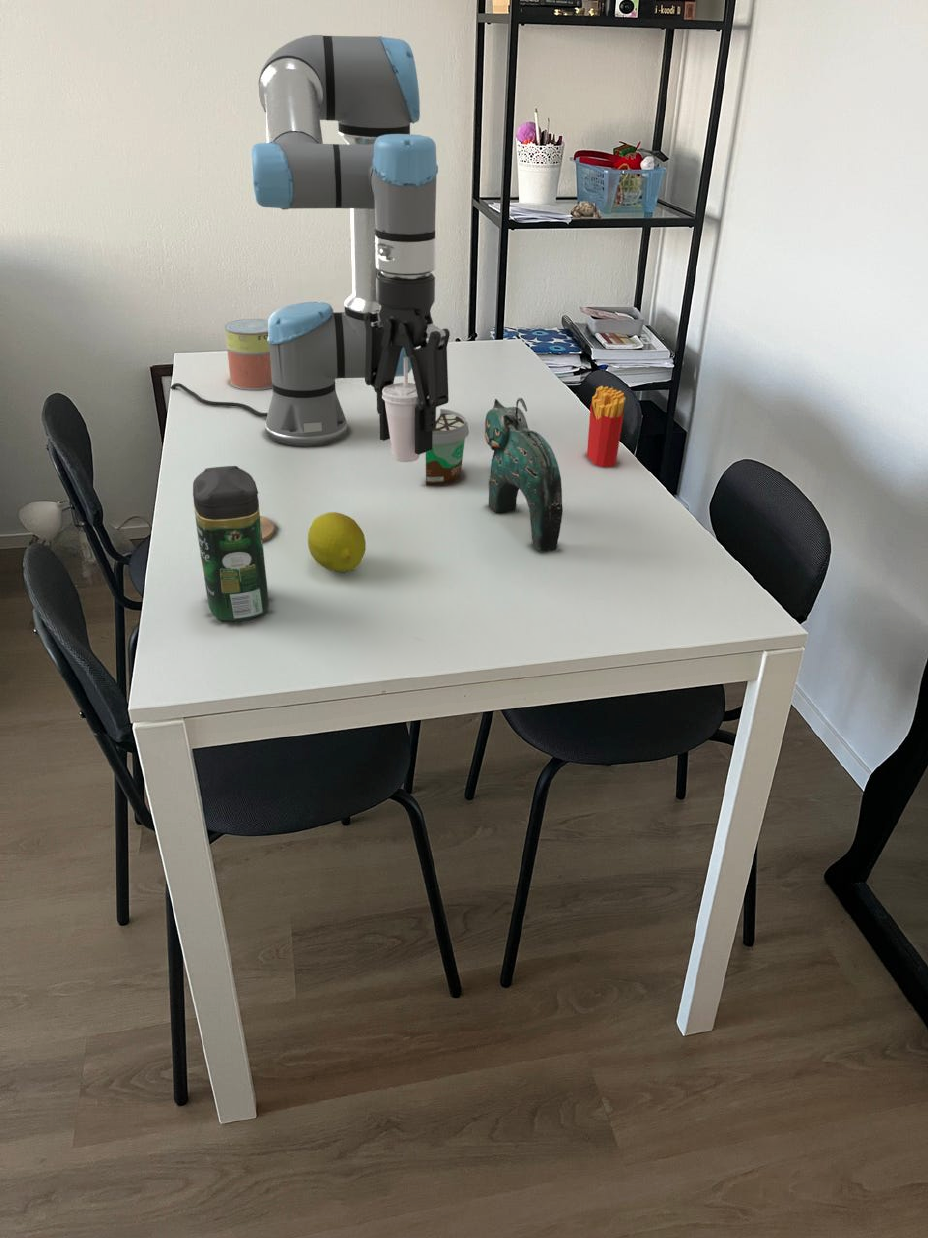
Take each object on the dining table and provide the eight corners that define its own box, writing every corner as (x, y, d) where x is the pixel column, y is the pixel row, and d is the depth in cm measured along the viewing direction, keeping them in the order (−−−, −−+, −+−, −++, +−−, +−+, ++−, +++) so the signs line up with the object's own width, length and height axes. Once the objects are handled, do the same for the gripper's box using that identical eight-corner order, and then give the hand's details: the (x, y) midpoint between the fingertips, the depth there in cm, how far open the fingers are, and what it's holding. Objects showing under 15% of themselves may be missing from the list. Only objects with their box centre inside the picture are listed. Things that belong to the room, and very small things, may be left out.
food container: (459, 492, 158) (461, 435, 153) (424, 488, 159) (424, 432, 154) (473, 465, 169) (475, 411, 163) (440, 461, 170) (441, 407, 164)
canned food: (278, 390, 200) (273, 333, 194) (224, 388, 200) (218, 331, 194) (287, 374, 210) (283, 319, 203) (236, 372, 210) (231, 317, 203)
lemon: (373, 580, 132) (372, 528, 128) (318, 588, 130) (315, 536, 126) (355, 546, 141) (353, 496, 137) (303, 552, 139) (299, 502, 134)
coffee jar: (204, 591, 128) (187, 463, 118) (263, 584, 130) (251, 457, 121) (210, 628, 120) (192, 494, 111) (273, 620, 123) (261, 487, 113)
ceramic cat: (477, 503, 155) (482, 383, 144) (513, 497, 157) (520, 379, 147) (532, 557, 140) (542, 427, 129) (571, 550, 142) (583, 422, 131)
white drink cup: (430, 449, 135) (431, 352, 128) (426, 467, 130) (427, 366, 123) (386, 447, 136) (384, 350, 128) (380, 464, 130) (377, 364, 123)
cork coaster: (198, 525, 145) (197, 522, 145) (259, 512, 150) (259, 509, 149) (221, 552, 138) (220, 548, 138) (285, 537, 142) (284, 534, 142)
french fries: (581, 451, 176) (588, 383, 169) (603, 450, 177) (611, 381, 170) (600, 470, 168) (608, 399, 161) (622, 469, 169) (631, 398, 162)
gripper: (332, 263, 122) (339, 432, 135) (440, 290, 112) (437, 471, 124) (374, 255, 127) (377, 420, 139) (482, 281, 117) (475, 456, 129)
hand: (405, 444), depth 132 cm, fingers closed on white drink cup, 6 cm apart
